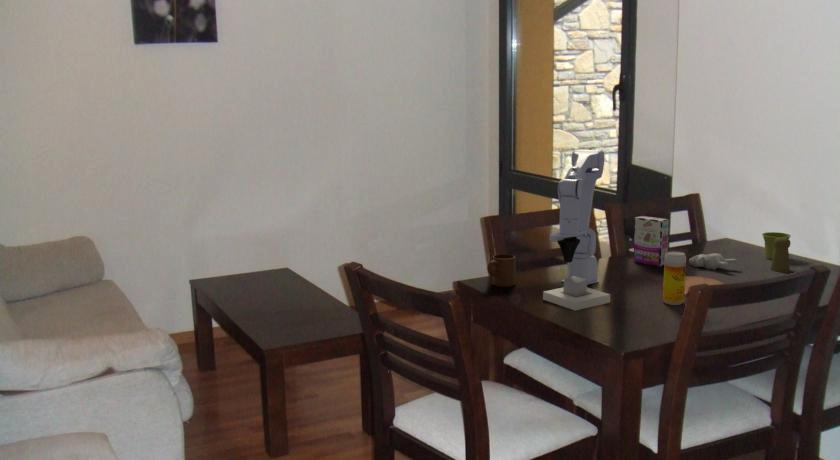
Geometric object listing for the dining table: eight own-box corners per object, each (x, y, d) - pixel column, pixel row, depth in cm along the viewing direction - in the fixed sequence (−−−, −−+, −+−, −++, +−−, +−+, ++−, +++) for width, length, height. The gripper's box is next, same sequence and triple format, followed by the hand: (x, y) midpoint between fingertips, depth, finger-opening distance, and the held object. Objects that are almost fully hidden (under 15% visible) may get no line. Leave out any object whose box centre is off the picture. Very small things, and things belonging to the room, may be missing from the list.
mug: (497, 291, 260) (497, 262, 258) (479, 287, 265) (478, 259, 263) (520, 284, 268) (520, 255, 267) (501, 280, 273) (501, 252, 272)
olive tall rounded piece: (770, 271, 279) (772, 239, 276) (770, 267, 284) (772, 235, 282) (790, 272, 276) (792, 240, 274) (789, 268, 282) (791, 236, 280)
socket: (577, 292, 258) (577, 281, 257) (609, 302, 246) (610, 291, 246) (543, 299, 251) (543, 289, 250) (575, 310, 239) (575, 299, 238)
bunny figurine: (698, 251, 292) (739, 252, 281) (699, 265, 293) (739, 267, 281) (684, 255, 286) (725, 257, 275) (685, 270, 286) (726, 272, 275)
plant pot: (754, 257, 298) (756, 233, 297) (773, 254, 302) (775, 231, 300) (775, 262, 290) (777, 238, 288) (794, 259, 294) (796, 235, 292)
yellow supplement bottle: (680, 306, 241) (683, 256, 238) (660, 303, 244) (662, 254, 241) (686, 301, 246) (688, 252, 243) (665, 298, 249) (668, 250, 246)
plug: (571, 294, 252) (573, 275, 251) (586, 298, 249) (587, 279, 247) (562, 298, 249) (563, 279, 247) (577, 302, 245) (578, 283, 244)
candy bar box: (668, 264, 290) (670, 218, 286) (660, 267, 286) (662, 221, 283) (640, 259, 298) (642, 215, 294) (632, 262, 294) (634, 216, 291)
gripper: (575, 214, 258) (574, 256, 261) (542, 219, 250) (541, 262, 252) (593, 216, 253) (591, 260, 255) (559, 222, 244) (558, 266, 247)
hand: (568, 261), depth 253 cm, fingers closed
